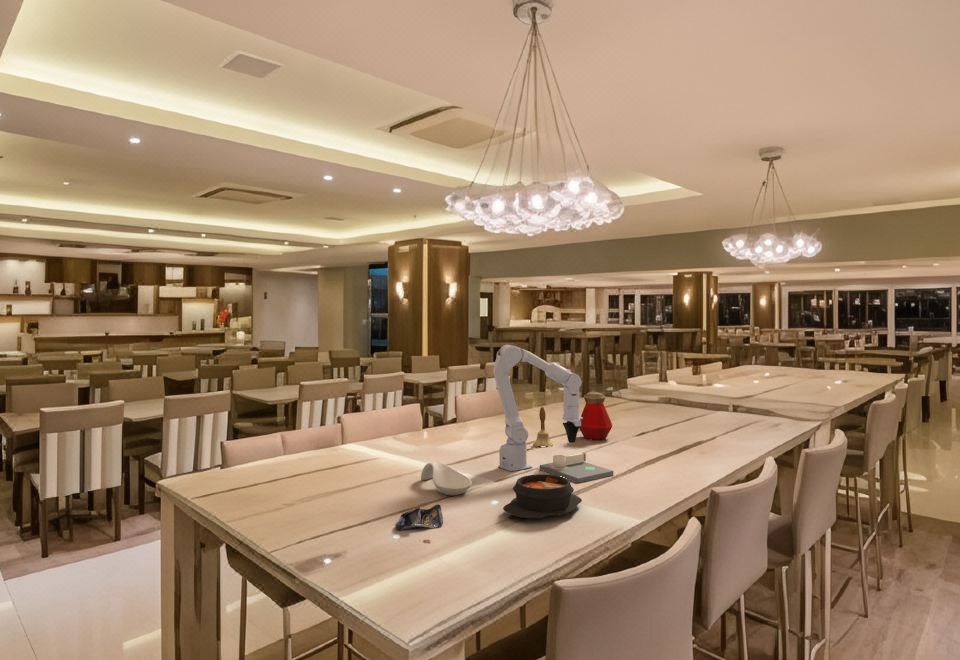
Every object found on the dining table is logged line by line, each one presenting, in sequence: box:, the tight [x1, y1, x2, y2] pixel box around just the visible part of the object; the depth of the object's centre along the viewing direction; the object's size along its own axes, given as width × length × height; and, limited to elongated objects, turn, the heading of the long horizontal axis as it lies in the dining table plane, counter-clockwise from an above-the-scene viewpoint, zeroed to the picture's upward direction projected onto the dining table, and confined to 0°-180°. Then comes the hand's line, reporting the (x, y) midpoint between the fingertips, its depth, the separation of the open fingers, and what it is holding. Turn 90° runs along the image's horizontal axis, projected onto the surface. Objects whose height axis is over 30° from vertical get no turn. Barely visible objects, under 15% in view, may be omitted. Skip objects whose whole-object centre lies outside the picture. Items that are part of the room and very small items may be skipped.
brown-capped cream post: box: [552, 452, 587, 467], centre depth 204 cm, size 14×4×3 cm, turn 123°
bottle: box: [579, 391, 613, 441], centre depth 255 cm, size 16×14×20 cm
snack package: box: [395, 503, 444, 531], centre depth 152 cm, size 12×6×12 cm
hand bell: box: [532, 406, 554, 447], centre depth 243 cm, size 8×8×16 cm
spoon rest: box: [420, 461, 473, 496], centre depth 184 cm, size 24×12×7 cm, turn 33°
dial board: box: [539, 461, 614, 484], centre depth 201 cm, size 16×20×2 cm
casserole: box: [502, 473, 583, 520], centre depth 162 cm, size 25×19×8 cm
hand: (571, 442), depth 212 cm, fingers closed
